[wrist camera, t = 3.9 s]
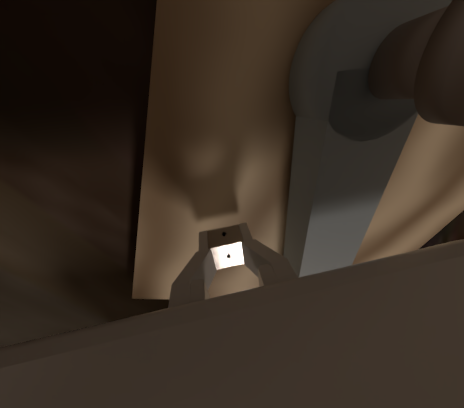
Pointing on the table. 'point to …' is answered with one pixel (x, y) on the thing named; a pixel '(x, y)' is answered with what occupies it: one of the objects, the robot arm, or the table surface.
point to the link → (342, 131)
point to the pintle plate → (281, 133)
